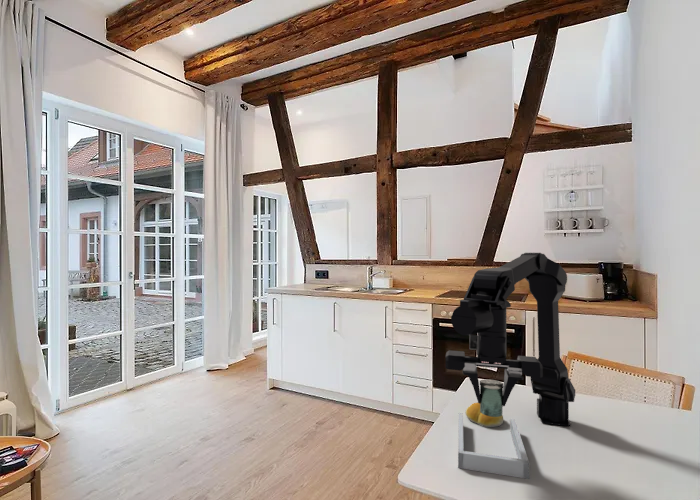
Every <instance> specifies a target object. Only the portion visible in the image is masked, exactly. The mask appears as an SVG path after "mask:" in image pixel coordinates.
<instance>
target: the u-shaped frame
mask: <svg viewBox="0 0 700 500" xmlns="http://www.w3.org/2000/svg"><path fill="white" fill-rule="evenodd" d="M509 422H510V423H509V424H510V427H509V428H510V429H509V430H510V431H509V432H510V435H511V438H512V442H513V446H514V448H515V449H514V450H515V452H516V456H517V458H514V457H508V456H502V455H501V456H500V455H495V454H494V455H493V454H488V453H481V452H475V451H467V450H464V413H462V412H459V413H458V437H457V439H458V440H457V441H458V442H457V443H458V444H457V445H458V446H457V447H458V448H457V449H458V450H457V456H458V457H457V458H458V459H457V461H458V462H457V463H458V465H457V466H458V467H457V468H459V469H465V470H471V471H477V472H483V473H489V474H497V475H500V476H501V475H502V476H503V475H504V476H508V477H515V478H522V479H527V480H529V479H530V461H529V458H528V455H527V451H526V449H525V446H524V443H523V440H522V437H521V434H520V430H519V429H518V424H517V422H516V419H513V418H510V420H509Z"/></svg>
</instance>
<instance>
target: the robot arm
mask: <svg viewBox="0 0 700 500" xmlns="http://www.w3.org/2000/svg"><path fill="white" fill-rule="evenodd" d="M524 279H525V280H526V282H527V283H528V289H529V292H530V294H531V295H532V296H533V298H534V299H535V301H536V314H537V315H536V316H537V317H536V320H537V343H538V344H537V345H538V358H537V357H536V356H528V355H517V358H516V359H507V308H511V307H512V305H511V303H510V302H509V301H508V300H507V299H508V298H509V296H510V295H512V293H514V292H515V290H516V286H515V285H516V284H517V283H519V282H521V281H522V280H524ZM567 282H568V274H567V273H566V270H565V269H564V268H563V267H562V265H560V264H559V263H558V262H555V261H553V260H552V259H549V257H547V256H546V254H545V253H541V252H524V253H521V254H520V256H518V257H516V258H514V259H512V260H511V261H509V262H506V263H505V264H503V265H501V266H500V267H499V266H498V267H490V268H482V269H479V270H478V269H477V270H476V272H475V273H474V275H473V277H472V279H471V282H470V283H469V285H468V288H467V290H466V293H465V294H464V297H463V299H460V300H459V306H457V307H456V308H455V309H454V310H453V312H452V314H451V316H450V320H451V321H450V322H451V326H452V327H453V329H454V331H455V332H456V333H457V334H459V335H461V336H469V341H468V342H469V346H468V347H469V350H471V351H475V352H476V356H468V355H465V351H462V350H461V351H460V350H450V349H449V350H448V351H446V353H445V369H447V370H451V371H462V375H464V376H468V378H469V381H470V383H471V385H472V387H473V390H474V394H475V397H476V399H477V403H479V404H480V401H481V397H480V381H479V375H478V369H477V368H478V367H482V368H491V369H492V368H493V369H494V368H495V369H504V378H503V407H505V406H506V405H507V402H508V399H509V398H510V395H511V392H512V391H513V389H514V388H515V386H516V384H517V382H518V381H523V380H524V376H525V377H529V378H530V384H531V388H532V389H531V390H532V393H533V394H536V395H538V398H537V399H536V415H537V417H538V418H539V419H540V422H541V423H542V424H546V425H554V426H555V425H556V426H564V427H572V425H571V424H572V423H570V421H569V416H570V414H569V408H570V407H569V406H570V405H569V404H570V403H574V402H575V399H576V388H575V387H574V385H573V383H572V381H571V380H570V378H569V370H568V367H567V366H566V365H565V363H564V362H563V360H562V358H561V349H560V320H559V319H560V318H559V317H560V316H559V315H560V313H559V301H560V299H561V298H562V296H563V294H564V293H565V291H566V285H567ZM476 334H477V335H476ZM523 375H524V376H523Z"/></svg>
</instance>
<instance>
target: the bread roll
mask: <svg viewBox="0 0 700 500" xmlns="http://www.w3.org/2000/svg"><path fill="white" fill-rule="evenodd" d="M465 416H466V418H467V419H468V420H469V421H470V422H472V423H474V424H478V425H479V426H482V427H485V428H497V427H499V426H502V425H503V423H504V415H503V414H502V416H499V417H491V416H487V415H484V414H482V413H481V412H480V404H479V403H478V402H473V403H471V404H470V405H469V406H468V407H467V408H466V409H465Z"/></svg>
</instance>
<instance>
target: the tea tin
mask: <svg viewBox="0 0 700 500" xmlns="http://www.w3.org/2000/svg"><path fill="white" fill-rule="evenodd" d="M503 385H504V382H501V381H499V380H496V379H490V378H489V379H481V380H480V381H479V389H480V397H481V401H480V412H481V413H482V414H484V415H487V416H491V417H499V416H502V415H503V407H504V406H503Z"/></svg>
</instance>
